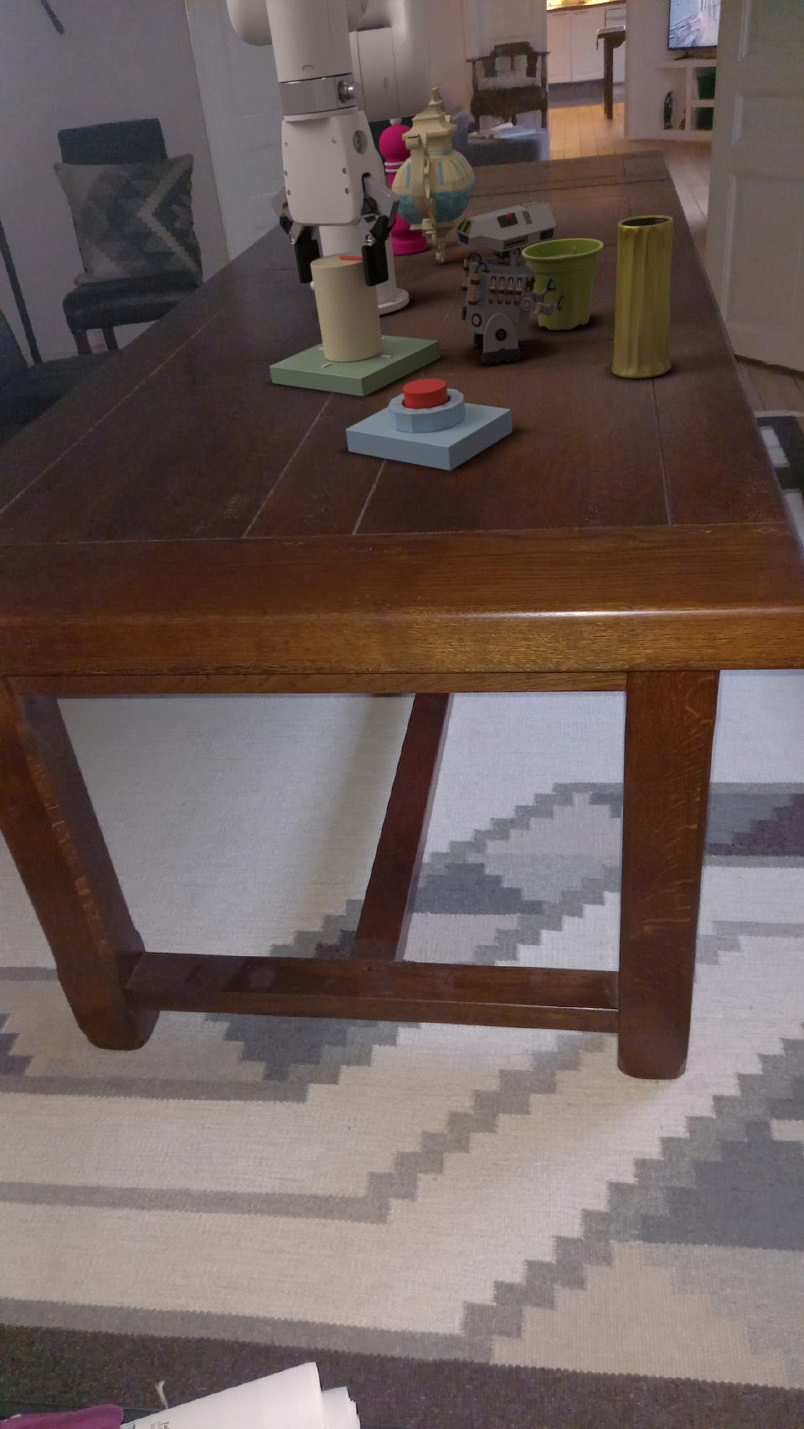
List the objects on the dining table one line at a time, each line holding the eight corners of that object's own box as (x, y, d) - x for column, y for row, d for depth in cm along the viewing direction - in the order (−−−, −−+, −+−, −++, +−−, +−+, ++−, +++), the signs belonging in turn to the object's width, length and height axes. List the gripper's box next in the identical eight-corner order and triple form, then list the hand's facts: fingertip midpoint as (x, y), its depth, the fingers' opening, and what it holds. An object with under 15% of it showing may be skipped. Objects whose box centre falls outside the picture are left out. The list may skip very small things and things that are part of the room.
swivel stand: (272, 383, 114) (268, 364, 112) (350, 348, 122) (347, 330, 121) (363, 397, 106) (361, 377, 105) (440, 358, 114) (438, 339, 113)
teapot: (462, 280, 145) (444, 34, 127) (387, 284, 148) (359, 45, 130) (490, 244, 163) (477, 25, 145) (423, 249, 166) (403, 35, 148)
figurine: (571, 355, 110) (570, 206, 101) (469, 368, 110) (459, 221, 101) (556, 333, 117) (554, 193, 108) (460, 346, 117) (450, 207, 108)
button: (396, 409, 91) (394, 390, 90) (422, 395, 93) (420, 376, 92) (430, 414, 88) (429, 394, 87) (456, 399, 91) (455, 380, 90)
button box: (348, 451, 93) (342, 410, 91) (412, 416, 99) (408, 376, 97) (450, 471, 87) (446, 427, 84) (512, 432, 92) (510, 389, 90)
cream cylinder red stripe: (312, 359, 113) (297, 262, 107) (350, 341, 117) (337, 248, 111) (357, 364, 109) (343, 265, 103) (395, 346, 113) (384, 250, 107)
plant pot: (601, 332, 115) (601, 253, 110) (521, 337, 117) (517, 259, 112) (604, 311, 122) (604, 235, 117) (528, 316, 125) (526, 242, 120)
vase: (674, 360, 104) (681, 212, 96) (667, 379, 99) (674, 225, 91) (616, 361, 106) (618, 216, 98) (606, 380, 101) (607, 229, 93)
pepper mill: (438, 246, 167) (426, 109, 155) (415, 256, 162) (402, 115, 150) (402, 246, 170) (388, 112, 159) (379, 256, 165) (363, 118, 154)
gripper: (409, 89, 96) (426, 276, 105) (283, 101, 105) (309, 272, 115) (360, 98, 91) (382, 293, 101) (233, 110, 101) (264, 287, 110)
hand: (343, 282), depth 108 cm, fingers open, 9 cm apart
